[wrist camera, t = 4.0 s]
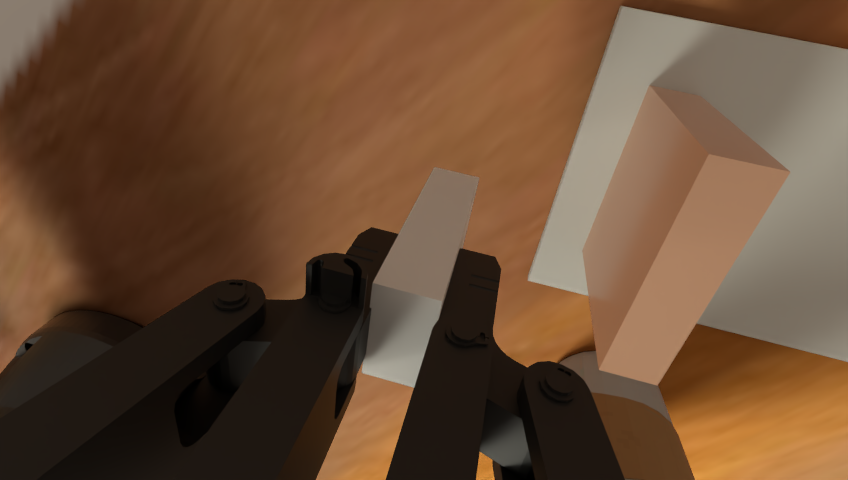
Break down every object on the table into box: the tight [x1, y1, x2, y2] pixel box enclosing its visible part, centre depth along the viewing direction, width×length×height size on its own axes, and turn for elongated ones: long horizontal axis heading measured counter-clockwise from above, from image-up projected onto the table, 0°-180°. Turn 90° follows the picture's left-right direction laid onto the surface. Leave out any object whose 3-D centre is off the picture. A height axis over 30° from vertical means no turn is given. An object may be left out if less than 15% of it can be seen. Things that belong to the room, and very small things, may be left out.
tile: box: [582, 85, 790, 386], centre depth 17 cm, size 2×8×8 cm, turn 171°
